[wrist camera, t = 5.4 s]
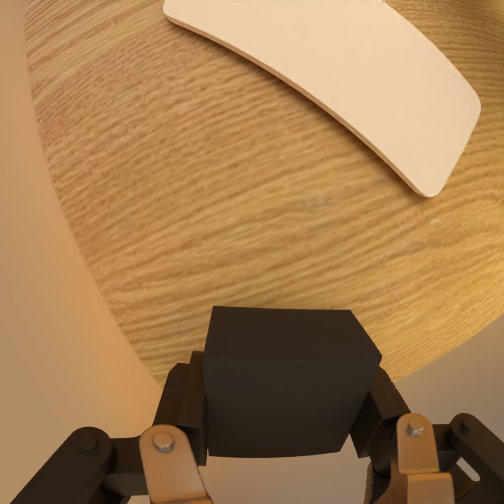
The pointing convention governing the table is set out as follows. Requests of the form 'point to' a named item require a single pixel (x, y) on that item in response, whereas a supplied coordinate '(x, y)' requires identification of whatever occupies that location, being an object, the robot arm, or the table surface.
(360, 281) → the table surface
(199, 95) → the table surface
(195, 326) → the table surface
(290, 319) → the dark brown square block
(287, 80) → the smartphone
